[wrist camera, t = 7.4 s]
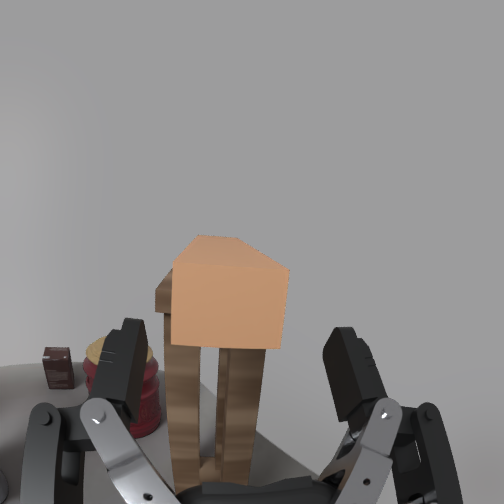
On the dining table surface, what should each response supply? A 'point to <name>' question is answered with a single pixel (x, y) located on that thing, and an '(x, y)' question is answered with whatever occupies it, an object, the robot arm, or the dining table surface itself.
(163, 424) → the dining table surface
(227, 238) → the terracotta bar
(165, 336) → the walnut shelf stand
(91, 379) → the canister
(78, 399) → the dining table surface
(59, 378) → the box
